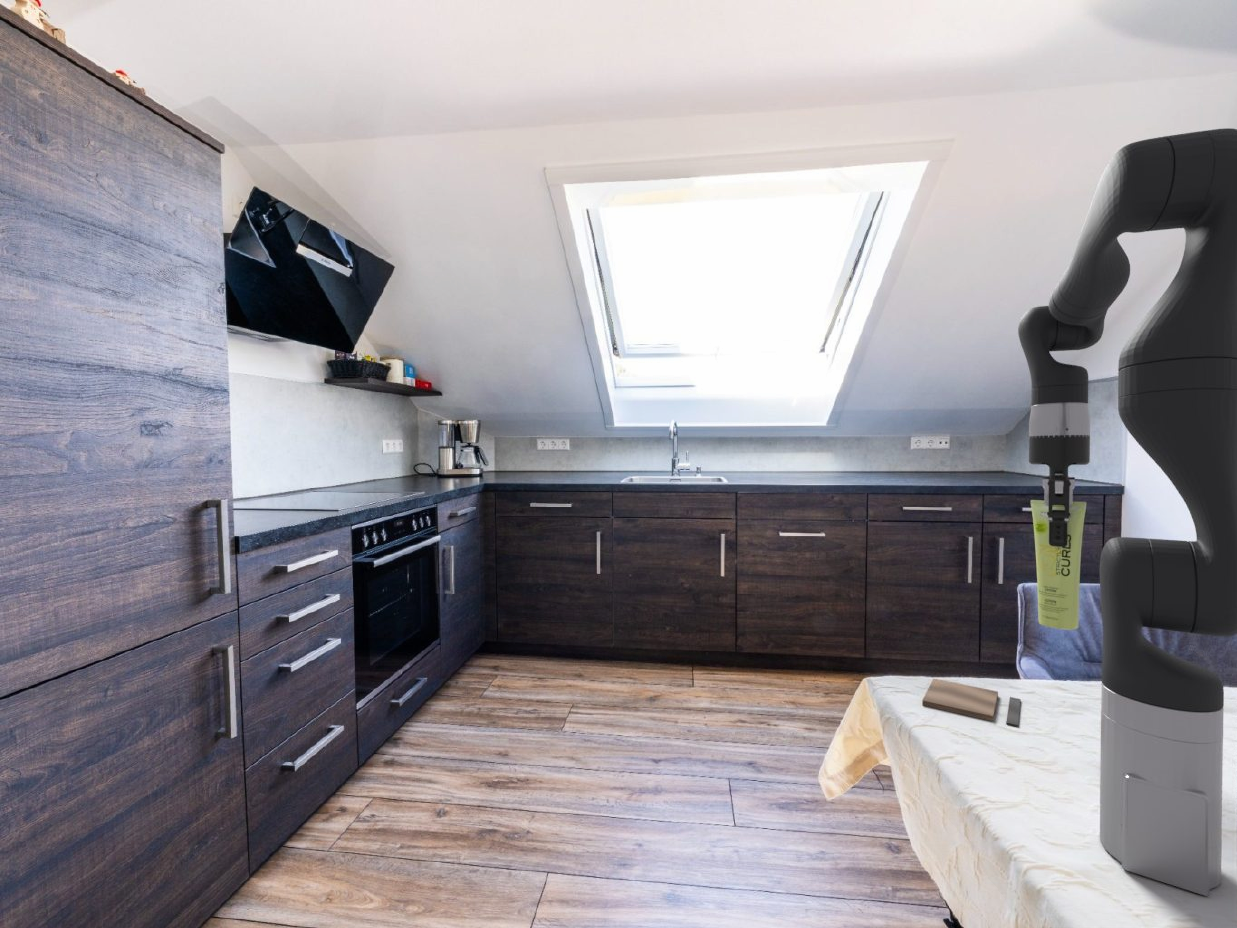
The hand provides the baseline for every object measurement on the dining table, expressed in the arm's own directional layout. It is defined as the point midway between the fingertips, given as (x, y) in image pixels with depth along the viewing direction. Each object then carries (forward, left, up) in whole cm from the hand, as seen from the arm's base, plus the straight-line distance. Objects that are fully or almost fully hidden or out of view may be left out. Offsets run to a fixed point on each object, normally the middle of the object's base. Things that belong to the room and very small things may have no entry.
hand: (1057, 543), depth 89 cm
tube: (0, 0, -13) cm, 13 cm away
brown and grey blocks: (+2, +11, -28) cm, 31 cm away
